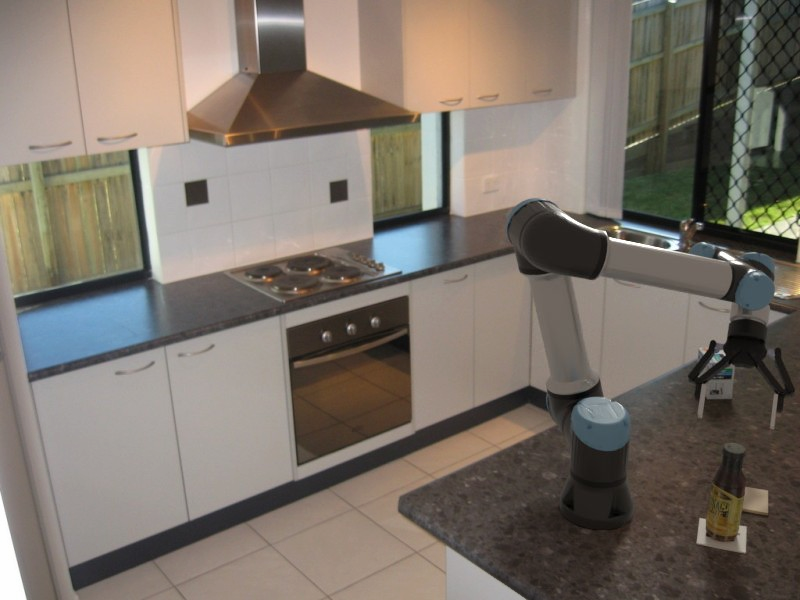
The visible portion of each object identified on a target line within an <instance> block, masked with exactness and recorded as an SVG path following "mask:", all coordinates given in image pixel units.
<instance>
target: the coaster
mask: <svg viewBox="0 0 800 600" xmlns="http://www.w3.org/2000/svg"><path fill="white" fill-rule="evenodd" d="M742 512H746V513H751V514H757V515H763V516H769V490H768V489H760V488H755V487H750V486H746V487H745V496H744V502H743V508H742Z"/></svg>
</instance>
